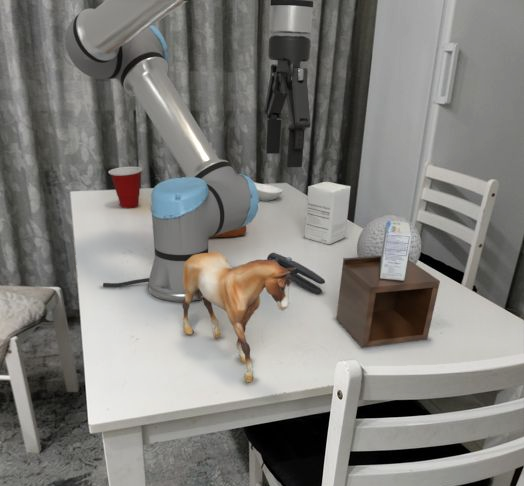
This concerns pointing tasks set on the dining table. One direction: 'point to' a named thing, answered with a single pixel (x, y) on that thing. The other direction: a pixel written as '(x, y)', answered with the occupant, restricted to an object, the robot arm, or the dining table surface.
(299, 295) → the dining table surface
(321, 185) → the white product box
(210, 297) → the horse figurine
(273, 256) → the can opener
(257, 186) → the spoon rest
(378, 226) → the decorative ball
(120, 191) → the plastic cup
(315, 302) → the dining table surface
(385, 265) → the medicine box
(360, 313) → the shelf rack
